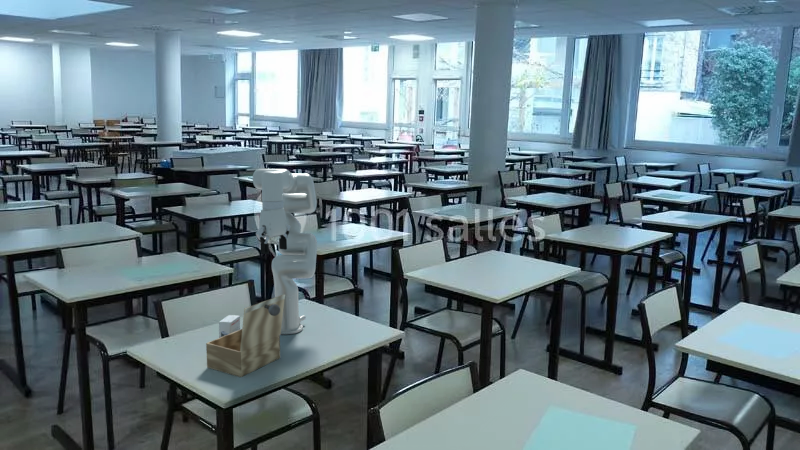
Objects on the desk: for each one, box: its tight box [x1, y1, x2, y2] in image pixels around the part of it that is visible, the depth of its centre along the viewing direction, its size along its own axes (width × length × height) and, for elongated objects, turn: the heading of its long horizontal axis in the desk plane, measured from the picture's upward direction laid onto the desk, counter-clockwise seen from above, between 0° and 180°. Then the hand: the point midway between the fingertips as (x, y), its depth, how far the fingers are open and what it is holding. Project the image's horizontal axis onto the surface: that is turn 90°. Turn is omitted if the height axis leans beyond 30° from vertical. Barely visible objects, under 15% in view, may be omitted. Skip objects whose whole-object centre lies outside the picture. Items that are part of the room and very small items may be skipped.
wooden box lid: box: [240, 294, 285, 352], centre depth 216 cm, size 20×16×7 cm
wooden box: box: [205, 328, 281, 378], centre depth 225 cm, size 20×16×9 cm
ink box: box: [218, 314, 241, 338], centre depth 239 cm, size 9×5×12 cm, turn 168°
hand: (274, 251), depth 231 cm, fingers open, 9 cm apart
